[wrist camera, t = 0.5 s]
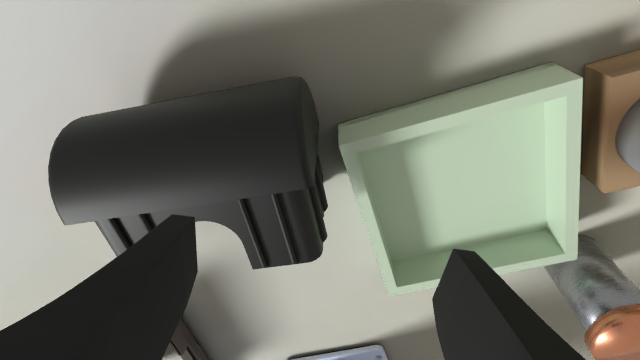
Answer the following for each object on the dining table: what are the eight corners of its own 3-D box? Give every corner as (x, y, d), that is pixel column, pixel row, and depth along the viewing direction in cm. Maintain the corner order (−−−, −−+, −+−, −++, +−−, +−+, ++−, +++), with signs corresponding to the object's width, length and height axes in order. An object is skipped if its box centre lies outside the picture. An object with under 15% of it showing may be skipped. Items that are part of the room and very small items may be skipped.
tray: (553, 229, 22) (577, 259, 20) (383, 265, 24) (388, 296, 22) (551, 62, 17) (582, 77, 15) (337, 124, 19) (338, 145, 17)
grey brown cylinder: (603, 271, 24) (680, 363, 18) (536, 284, 25) (592, 375, 19) (607, 223, 22) (694, 310, 17) (534, 238, 23) (595, 326, 17)
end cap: (306, 55, 18) (294, 106, 12) (333, 182, 21) (333, 270, 15) (111, 93, 19) (12, 157, 13) (167, 207, 22) (110, 297, 17)
